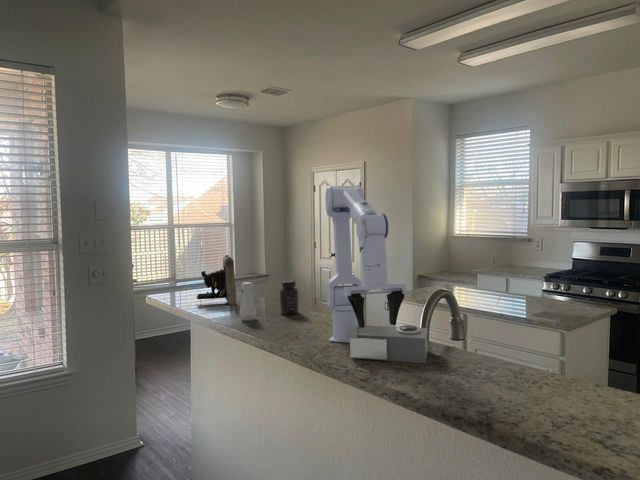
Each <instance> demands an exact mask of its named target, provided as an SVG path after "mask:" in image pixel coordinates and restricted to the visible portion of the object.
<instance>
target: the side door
mask: <svg viewBox="0 0 640 480" xmlns="http://www.w3.org/2000/svg"><path fill="white" fill-rule="evenodd" d="M350 328H351V337H350V343H349V355H350V358H352V357H356V358H371V359H386V360H387V339H376V338H358V325H351V326H350ZM356 358H355V359H356ZM371 359H370V360H371ZM386 360H385V361H386Z"/></svg>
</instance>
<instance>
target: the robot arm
mask: <svg viewBox="0 0 640 480" xmlns="http://www.w3.org/2000/svg"><path fill="white" fill-rule="evenodd" d="M364 198H365V197H364V189H363V187H362V186H361V185H360V184H359V185H358V184H357V185H328V186H327V187H326V189H325V198H324V200H325V211H326V216H328V217H330V218H331V220H332V225H333V237H334V238H333V241H334V261H335V262H334V263H335V274H334V275H333V276H332V277H331V278H329V280H328V281H327V282H326V283H327V284H326V304H327V306H328V307H329V308H330V309H332V336H331V337H330V338H329V340H328V342H331V343H333V342H334V343H349V344H350V337H351V328H350V326H351V325H358V326H359V327H361V328H364V325H365V315H364V314H365V312H364V311H365V310H364V309H365V308H364V307H365V299H366V298H365V297H364V295H378V294H379V295H381V294H386V299H387V304H388V313H389V315H388V316H389V318H388V319H389V320H388V321H389V325H391V326H397V323H398V322H397V321H398V317H399V316H398V315H399V311H400V307H401V305H402V303H403V301H404V299H405V293H407V290H408V289H407V284H406V283H396V284H394V283H393V284H391V283H390V284H389V283H388V282H389V281H388V264H387V261H388V260H387V246H386V245H387V244H386V239H387V237H388V236H389V231H390V230H389V229H390V227H389V226H390V225H389V218H388V216H387V215H386V213H377V210H375V209H374V206H372V205H371V204H370V202H369V201H368V200H364ZM351 219H352V221H353V223H354V224H355V227H356V229H355V230H356V231H355V232H356V236H357V239H358V247H359V248H360V256H361V259H360V260H361V273H362V274H361V277H362V279H360V278H359V277H357V276H355V274H353V262H352V261H353V260H352V245H351V244H352V243H351V229H350V228H351V225H350V220H351ZM361 280H362V281H361ZM347 284H348V285H347ZM349 284H350V285H349ZM371 290H372V291H371ZM377 290H381V291H377Z"/></svg>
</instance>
